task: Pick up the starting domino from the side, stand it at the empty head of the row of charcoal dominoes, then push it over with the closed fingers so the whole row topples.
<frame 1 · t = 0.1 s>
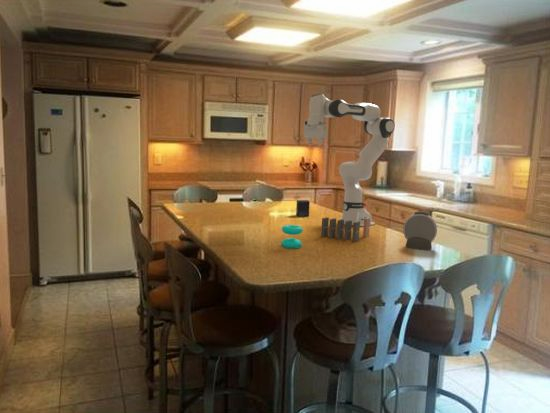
hand: (314, 146, 281), 48 cm above the kitchen island, tool pointing down, fingers open, 8 cm apart
domino 3: (332, 237, 257), on the kitchen island
domino 4: (339, 238, 254), on the kitchen island
starting domino: (365, 236, 264), on the kitchen island
alarm clock: (418, 247, 241), on the kitchen island
donuts: (291, 247, 230), on the kitchen island
domino 5: (347, 239, 252), on the kitchen island
domino 6: (355, 241, 250), on the kitchen island
box: (302, 216, 325), on the kitchen island
domino 2: (324, 236, 259), on the kitchen island
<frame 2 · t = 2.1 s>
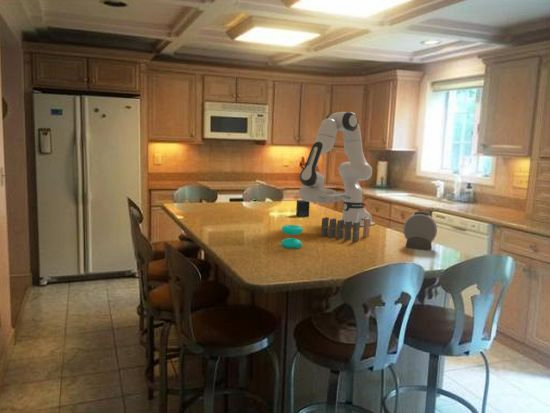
hand: (347, 198, 267), 20 cm above the kitchen island, tool horizontal, fingers open, 8 cm apart
nothing on the kitchen island moved.
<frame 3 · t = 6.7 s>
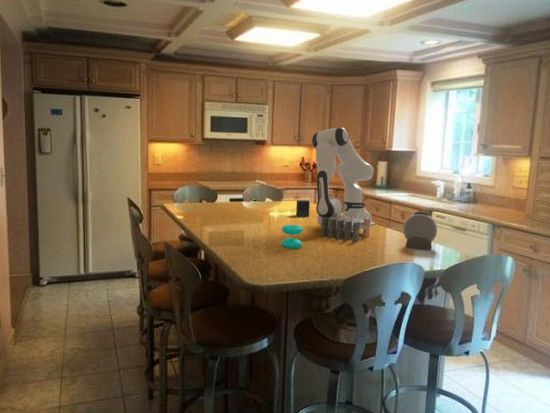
hand: (368, 226, 262), 6 cm above the kitchen island, tool horizontal, fingers closed on starting domino, 5 cm apart
starting domino: (365, 236, 264), on the kitchen island, touching gripper
everything else where it was.
when the fingers open (7 cm above the kitchen island, at t = 13.3 s): starting domino drops 1 cm, on the kitchen island.
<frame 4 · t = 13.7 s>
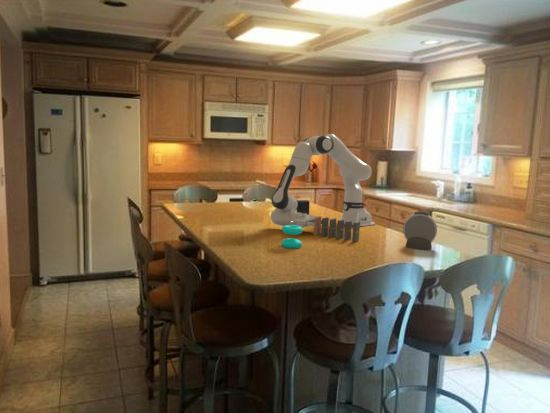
hand: (319, 223, 260), 7 cm above the kitchen island, tool horizontal, fingers open, 8 cm apart
starting domino: (317, 234, 261), on the kitchen island
everything else where it was.
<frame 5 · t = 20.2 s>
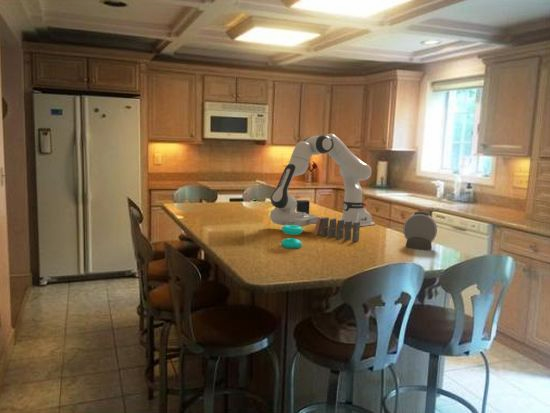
hand: (318, 222, 260), 7 cm above the kitchen island, tool horizontal, fingers closed
starting domino: (317, 234, 261), on the kitchen island, tilted 12°
everything else where it was.
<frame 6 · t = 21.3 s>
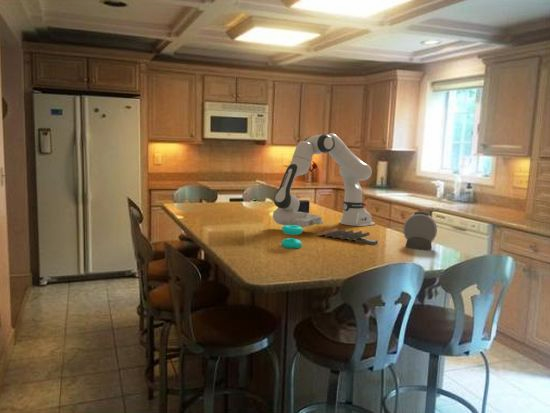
hand: (321, 222, 259), 7 cm above the kitchen island, tool horizontal, fingers closed
domino 3: (334, 236, 256), point 1 cm above the kitchen island, tilted 69°, touching domino 2, domino 4
domino 4: (343, 237, 253), point 1 cm above the kitchen island, tilted 67°, touching domino 3, domino 5
starting domino: (319, 233, 261), point 1 cm above the kitchen island, tilted 69°, touching domino 2
domino 5: (350, 238, 251), point 1 cm above the kitchen island, tilted 67°, touching domino 4, domino 6
domino 6: (357, 239, 249), point 1 cm above the kitchen island, tilted 90°, touching domino 5
domino 2: (327, 235, 258), point 1 cm above the kitchen island, tilted 69°, touching domino 3, starting domino
everything else where it was.
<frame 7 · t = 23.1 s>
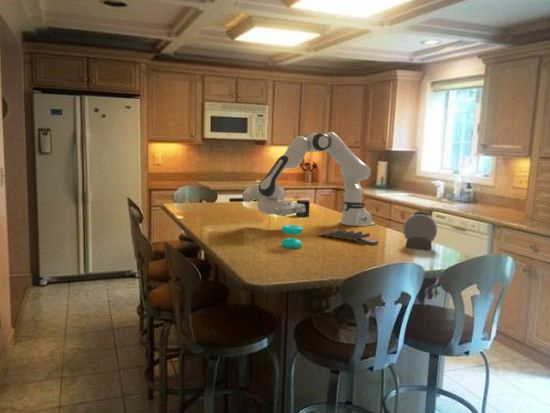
hand: (304, 210, 265), 12 cm above the kitchen island, tool horizontal, fingers closed
domino 4: (343, 237, 253), point 1 cm above the kitchen island, tilted 68°, touching domino 3, domino 5
domino 5: (351, 238, 251), point 1 cm above the kitchen island, tilted 70°, touching domino 4, domino 6
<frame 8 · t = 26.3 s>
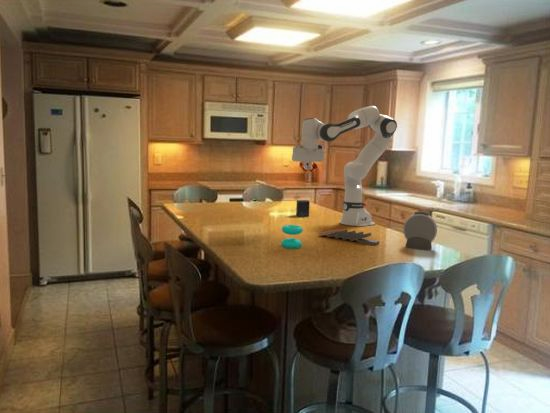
hand: (307, 169, 281), 34 cm above the kitchen island, tool pointing down, fingers closed
domino 3: (337, 236, 255), point 1 cm above the kitchen island, tilted 68°, touching domino 2, domino 4
domino 4: (344, 238, 252), point 1 cm above the kitchen island, tilted 68°, touching domino 3, domino 5
domino 5: (352, 239, 250), point 1 cm above the kitchen island, tilted 68°, touching domino 4, domino 6
domino 2: (329, 235, 257), point 1 cm above the kitchen island, tilted 69°, touching domino 3, starting domino
at the end: domino 6 tilted 90°; starting domino tilted 70°; starting domino inside the target area (1.9 cm from its centre), point 0.7 cm above the kitchen island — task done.
